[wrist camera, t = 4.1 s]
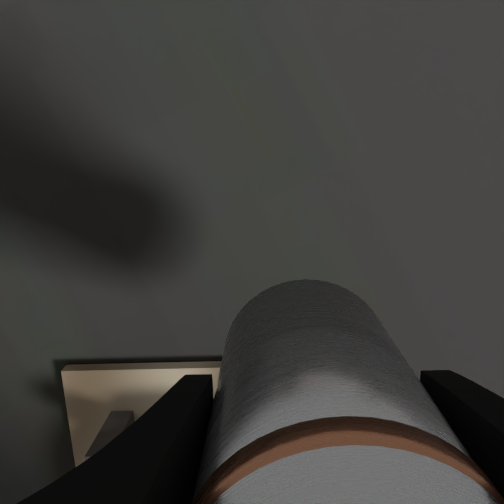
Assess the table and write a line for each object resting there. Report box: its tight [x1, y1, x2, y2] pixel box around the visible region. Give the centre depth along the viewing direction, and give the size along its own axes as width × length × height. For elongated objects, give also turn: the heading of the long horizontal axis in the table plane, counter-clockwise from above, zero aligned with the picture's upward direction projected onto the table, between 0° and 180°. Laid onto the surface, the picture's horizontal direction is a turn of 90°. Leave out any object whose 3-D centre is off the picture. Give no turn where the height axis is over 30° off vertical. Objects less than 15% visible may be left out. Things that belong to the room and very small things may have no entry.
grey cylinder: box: [192, 279, 504, 504], centre depth 8 cm, size 5×5×8 cm
